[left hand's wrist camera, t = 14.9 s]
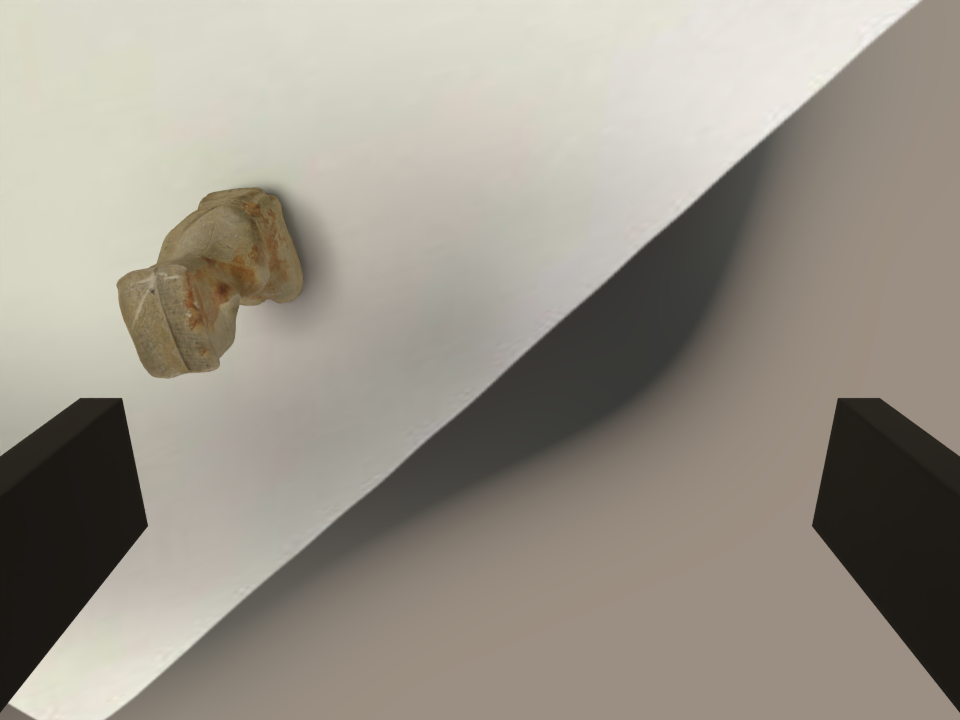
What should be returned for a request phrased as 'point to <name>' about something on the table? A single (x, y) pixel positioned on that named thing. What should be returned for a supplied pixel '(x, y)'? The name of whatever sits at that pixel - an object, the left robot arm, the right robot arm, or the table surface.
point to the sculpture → (209, 281)
